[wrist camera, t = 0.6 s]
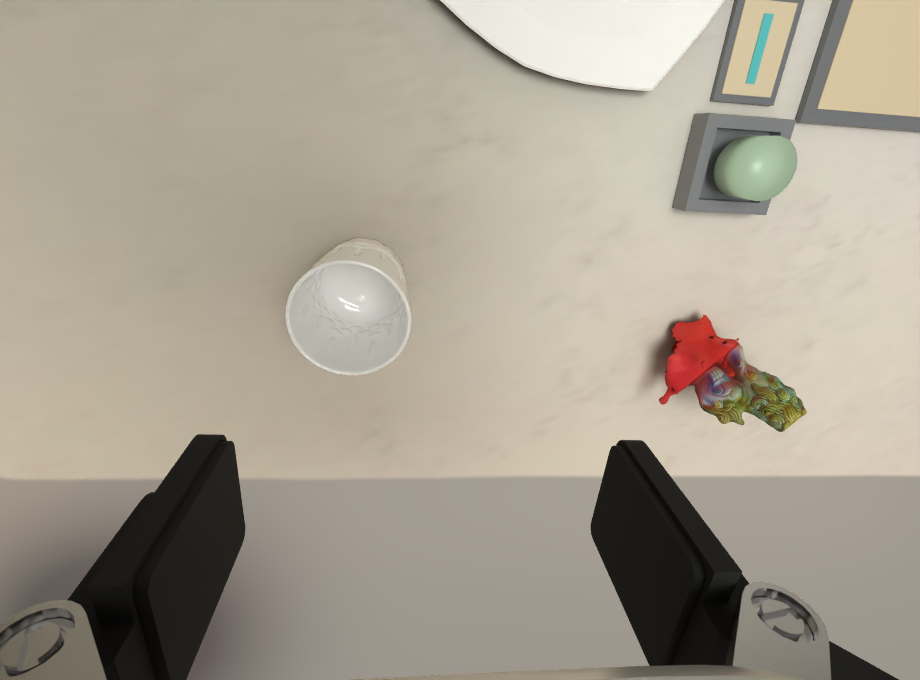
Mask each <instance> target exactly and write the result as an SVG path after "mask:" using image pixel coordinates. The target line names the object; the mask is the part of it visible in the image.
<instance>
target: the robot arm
mask: <svg viewBox="0 0 920 680" xmlns="http://www.w3.org/2000/svg"><path fill="white" fill-rule="evenodd" d="M591 534H592V538H593V540H594V543H595V545H596V547H597V549H598V551H599V554H600V556H601V558H602V560H603V563H604V565H605V567H606V569H607V571H608V574H609V576H610V578H611V581H612V583H613V585H614V587H615V589H616V592H617V594H618V596H619V598H620V601H621V603H622V605H623V607H624V610H625V612H626V614H627V616H628V618H629V621H630V623H631V625H632V628H633V630H634V632H635V634H636V636H637V639H638V641H639V643H640V646H641V648H642V650H643V652H644V654H645V657H646V659H647V661H648V663H649V665H650V666H632V667H631V666H630V667H608V668H607V667H606V668H583V669H559V670H535V671H516V672H515V671H513V672H492V673H472V674H450V675H430V676H410V677H391V678H371V679H353V680H898V679H897V678H895V677H893V676H891V675H889V674H888V673H886V672H884V671H882V670H880V669H879V668H877V667H875V666H873V665H871V664H870V663H868V662H866V661H864V660H863V659H861V658H859V657H857V656H855V655H854V654H852V653H850V652H848V651H846V650H845V649H843V648H841V647H839V646H837V645H836V644H834V643H832V642H830V641H829V636H828V632H827V629H826V626H825V624H824V622H823V621H822V619H821V618H820V616H819V615H818V614H817V613H816V612H815V610H814V609H813V608H812V607H811V606H810V605H809V604H808V603H806V602H805V601H804V600H803V599H801V598H800V597H799V596H797V595H796V594H794V593H792V592H790V591H789V590H787V589H785V588H783V587H780V586H778V585H775V584H772V583H766V582H753V583H751V584H749V583H748V581H747V580H746V579H745V577H744V576H743V575H742V571H741V569H740V568H739V567H738V566H737V564H736V563H735V561H734V560H733V559H732V558H731V556H730V555H729V554H728V552H727V551H726V550H725V548H724V547H723V546H722V544H721V543H720V542H719V540H718V539H717V538H716V536H715V535H714V534H713V532H712V531H711V530H710V528H709V527H708V526H707V525H706V523H705V522H704V520H703V519H702V518H701V516H700V515H699V514H698V512H697V511H696V510H695V508H694V507H693V506H692V504H691V503H690V502H689V500H688V499H687V498H686V497H685V495H684V494H683V493H682V491H681V490H680V489H679V487H678V486H677V485H676V483H675V482H674V481H673V479H672V478H671V477H670V475H669V474H668V473H667V471H666V470H665V469H664V467H663V466H662V465H661V463H660V462H659V461H658V459H657V458H656V457H655V455H654V454H653V453H652V451H651V450H650V449H649V447H648V446H647V445H646V444H645V443H644V442H643V441H641V440H620V441H619V442H618V443H617V445H616V446H612V447H611V449H610V452H609V456H608V460H607V464H606V468H605V471H604V475H603V479H602V483H601V487H600V491H599V494H598V498H597V502H596V506H595V510H594V514H593V518H592V522H591ZM244 536H245V521H244V514H243V507H242V500H241V492H240V484H239V476H238V469H237V461H236V454H235V447H234V443H233V442H232V441H227V440H226V437H225V436H224V435H202V434H199V435H196V436H195V437H194V438H193V440H192V441H191V442H190V444H189V445H188V447H187V448H186V449H185V451H184V452H183V454H182V455H181V456H180V458H179V459H178V461H177V462H176V463H175V465H174V466H173V468H172V469H171V470H170V472H169V473H168V475H167V476H166V477H165V479H164V480H163V482H162V483H161V484H160V486H159V487H158V489H157V490H156V491H155V492H151V493H149V494H147V495H146V496H145V497H144V498H143V499H142V500H141V501H140V503H139V504H138V505H137V507H136V508H135V509H134V511H133V512H132V513H131V515H130V516H129V517H128V519H127V520H126V522H125V523H124V524H123V526H122V527H121V529H120V530H119V531H118V532H117V534H116V535H115V536H114V538H113V539H112V541H111V542H110V543H109V545H108V546H107V547H106V549H105V550H104V552H103V553H102V554H101V555H100V557H99V558H98V559H97V561H96V562H95V563H94V565H93V566H92V568H91V569H90V570H89V572H88V573H87V575H86V576H85V577H84V578H83V580H82V581H81V583H80V584H79V585H78V587H77V588H76V589H75V591H74V592H73V593H72V595H71V596H70V597H69V599H68V600H55V601H50V602H45V603H40V604H38V605H35V606H33V607H30V608H27V609H25V610H23V611H21V612H19V613H17V614H16V615H14V616H12V617H10V618H9V619H7V620H5V621H4V622H3V623H2V624H0V680H186V679H187V676H188V674H189V672H190V669H191V667H192V664H193V662H194V659H195V657H196V655H197V652H198V650H199V647H200V645H201V642H202V640H203V638H204V635H205V633H206V630H207V628H208V626H209V623H210V621H211V618H212V616H213V613H214V611H215V609H216V606H217V604H218V601H219V599H220V597H221V594H222V592H223V589H224V587H225V584H226V582H227V580H228V577H229V575H230V572H231V570H232V567H233V565H234V563H235V560H236V558H237V555H238V553H239V551H240V548H241V546H242V543H243V540H244Z"/></svg>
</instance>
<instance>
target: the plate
mask: <svg viewBox="0 0 920 680" xmlns="http://www.w3.org/2000/svg"><path fill="white" fill-rule="evenodd" d="M440 1H441V2H442V3H443V4H445V5H446V6H447V7H448V8H449V9H450V10H451V11H452V12H453V13H454V14H455V15H456V16H457V17H459V18H460V19H461V20H462V21H463V22H464V23H465V24H466V25H467V26H468V27H470V28H471V29H472V30H473V31H475V32H476V33H477V34H478V35H480V36H481V37H482V38H483V39H485V40H486V41H487V42H488V43H490V44H491V45H492V46H493V47H495V48H496V49H498V50H499V51H501V52H502V53H504V54H506V55H507V56H509V57H510V58H512V59H513V60H515V61H517V62H518V63H520V64H521V65H523V66H525V67H528V68H530V69H533V70H536V71H539V72H542V73H544V74H547V75H550V76H553V77H556V78H561V79H565V80H570V81H574V82H578V83H583V84H588V85H596V86H603V87H610V88H618V89H628V90H642V91H652V90H653V89H654V88H655V87H656V86H657V84H658V83H659V82H660V81H661V80H662V79H663V78H664V76H665V75H666V74H667V73H668V72H669V71H670V70H671V68H672V67H673V66H674V65H675V64H676V63H677V61H678V60H679V59H680V58H681V57H682V55H683V54H684V53H685V52H686V51H687V49H688V48H689V47H690V46H691V45H692V43H693V42H694V41H695V40H696V38H697V37H698V36H699V35H700V34H701V32H702V31H703V30H704V29H705V28H706V26H707V25H708V23H709V22H710V21H711V19H712V18H713V16H714V15H715V14H716V12H717V11H718V9H719V8H720V7H721V5H722V4H723V2H724V1H725V0H440Z"/></svg>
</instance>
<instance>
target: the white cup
mask: <svg viewBox="0 0 920 680" xmlns="http://www.w3.org/2000/svg"><path fill="white" fill-rule="evenodd" d="M285 317H286V325H287V329H288V333H289V335H290V338H291V340H292V342H293V343H294V345H295V346H296V348H297V349H298V350H299V352H300V353H301V354H302V355H303V356H304V357H305V358H306V359H307V360H309V361H310V362H311V363H313V364H314V365H316V366H318V367H319V368H321V369H324V370H326V371H329V372H332V373H335V374H340V375H350V376H353V375H364V374H368V373H372V372H375V371H377V370H380V369H382V368H383V367H385V366H387V365H388V364H390V363H391V362H392V361H393V360H394V359H395V358H396V357H397V356H398V355H399V354H400V353H401V351H402V350H403V348H404V347H405V345H406V343H407V341H408V338H409V335H410V330H411V312H410V304H409V297H408V288H407V283H406V279H405V276H404V273H403V266H402V265H401V263H400V261H399V260H398V258H397V257H396V255H395V254H394V252H393V251H392V250H391V249H389V248H388V247H386V246H385V245H383V244H381V243H380V242H378V241H377V240H371V239H363V238H355V239H352V240H349V241H346V242H343V243H340V244H338V245H337V246H336V247H335V248H334V249H332V250H331V251H329V252H328V253H327V254H326V255H324V256H323V257H322V258H321V259H319V260H318V261H317V262H316V263H315V264H314V265H313V266H312V267H311V268H310V269H309V270H308V271H307V272H306V273H305V274H304V275H303V276H302V277H301V278H300V279H299V280H298V281H297V283H296V284H295V285H294V287H293V288H292V290H291V292H290V294H289V297H288V300H287V304H286V312H285Z"/></svg>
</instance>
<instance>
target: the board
mask: <svg viewBox="0 0 920 680" xmlns="http://www.w3.org/2000/svg"><path fill="white" fill-rule="evenodd" d="M795 120H796V122H798V123H811V124H824V125H837V126H849V127H862V128H875V129H888V130H900V131H913V132H920V0H833V2H832V5H831V8H830V11H829V15H828V18H827V21H826V24H825V27H824V30H823V34H822V37H821V40H820V43H819V46H818V49H817V52H816V56H815V59H814V62H813V65H812V68H811V71H810V75H809V78H808V81H807V84H806V87H805V90H804V94H803V97H802V100H801V103H800V106H799V109H798V112H797V116H796V119H795Z"/></svg>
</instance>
